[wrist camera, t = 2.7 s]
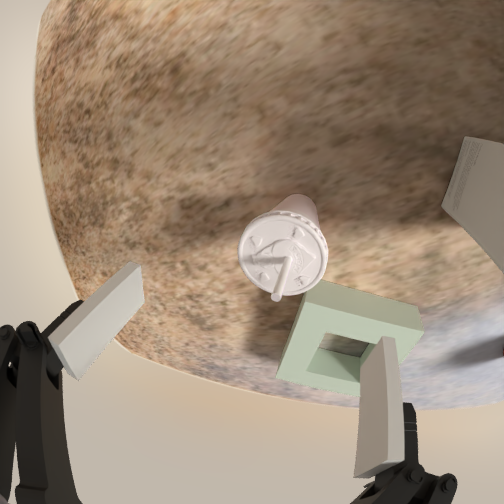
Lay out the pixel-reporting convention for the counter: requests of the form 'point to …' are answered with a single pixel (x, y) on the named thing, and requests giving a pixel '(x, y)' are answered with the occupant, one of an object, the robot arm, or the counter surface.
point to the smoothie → (284, 248)
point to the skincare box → (479, 195)
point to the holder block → (344, 324)
